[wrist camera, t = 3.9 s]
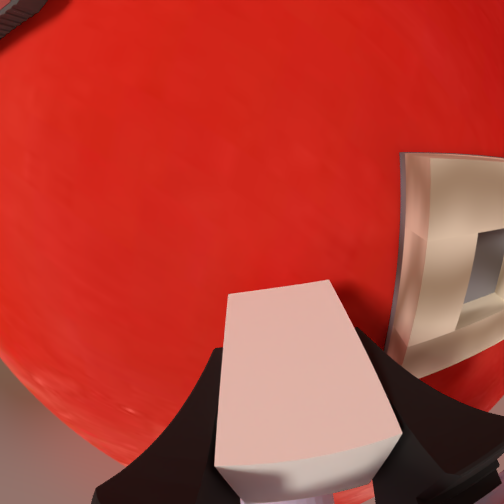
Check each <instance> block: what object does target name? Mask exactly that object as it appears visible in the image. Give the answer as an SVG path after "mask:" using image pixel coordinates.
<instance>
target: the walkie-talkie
mask: <svg viewBox="0 0 504 504" xmlns="http://www.w3.org/2000/svg"><path fill="white" fill-rule="evenodd" d="M47 1H48V0H0V39H1V38H2V37H4V36H5V35H6V34H7V33H10V31H11V30H12V29H15V28H16V26H18V25H21V23H22V22H23V21H26V20H27V19H28V18H29V17H32V16H33V15H34V14H35V13H38V12H39V11H40V10H41V8H42V7H43V6H44V5H45V3H46V2H47Z"/></svg>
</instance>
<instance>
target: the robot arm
mask: <svg viewBox="0 0 504 504" xmlns="http://www.w3.org/2000/svg"><path fill="white" fill-rule="evenodd" d="M355 330H356V332H357V334H358V336H359V338H360V341H361V343H362V345H363V347H364V349H365V351H366V353H367V355H368V357H369V359H370V361H371V363H372V365H373V367H374V370H375V372H376V374H377V376H378V378H379V380H380V382H381V385H382V387H383V389H384V391H385V393H386V396H387V398H388V400H389V402H390V405H391V407H392V409H393V412H394V414H395V416H396V419H397V421H398V423H399V426H400V428H401V431H402V435H401V437H400V438H399V440H398V442H397V443H396V445H395V446H394V448H393V450H392V451H391V453H390V454H389V456H388V457H387V459H386V460H385V462H384V463H383V465H382V466H381V468H380V469H379V470H378V472H377V473H376V475H375V476H374V477H373V479H372V481H373V487H374V494H375V500H376V501H375V502H376V504H504V470H503V471H502V472H501V473H499V474H498V473H497V470H496V469H497V468H498V467H499V463H498V460H497V459H498V458H499V457H500V456H501V455H502V454H503V453H504V416H500V415H496V414H492V413H488V412H485V411H482V410H479V409H476V408H473V407H471V406H468V405H466V404H463V403H461V402H459V401H457V400H455V399H452V398H450V397H448V396H446V395H444V394H442V393H441V392H439V391H437V390H435V389H434V388H432V387H430V386H429V385H427V384H425V383H424V382H422V381H421V380H419V379H418V378H417V377H415V376H414V375H412V374H411V373H410V372H408V371H407V370H406V369H404V368H403V367H402V366H401V365H399V364H398V363H397V362H396V361H395V360H393V359H392V358H391V357H390V356H389V355H387V354H386V353H385V352H384V351H383V350H382V349H381V348H380V347H378V346H377V345H376V344H375V343H374V342H373V341H372V340H371V339H370V338H369V337H368V336H367V335H366V334H364V333H363V332H362V331H361V330H360V329H359V328H358V327H355ZM222 356H223V347H221V348H215V349H214V350H213V352H212V354H211V357H210V359H209V361H208V363H207V365H206V367H205V369H204V371H203V373H202V375H201V377H200V378H199V380H198V382H197V384H196V385H195V387H194V389H193V391H192V392H191V394H190V396H189V397H188V399H187V400H186V402H185V403H184V405H183V406H182V408H181V409H180V411H179V412H178V413H177V415H176V416H175V418H174V419H173V420H172V421H171V423H170V424H169V425H168V426H167V428H166V429H165V430H164V431H163V432H162V434H161V435H160V436H159V437H158V438H157V439H156V440H155V441H154V442H153V443H152V444H151V445H150V446H149V447H148V448H147V449H146V450H145V451H144V452H143V453H142V454H141V455H140V456H139V457H138V458H136V459H135V460H134V461H133V462H132V463H131V464H129V465H128V466H127V467H126V468H125V469H123V470H122V471H121V472H120V473H118V474H116V475H115V476H113V477H112V478H110V479H109V480H108V481H106V482H104V483H103V484H101V485H100V486H98V487H97V488H96V489H95V492H94V495H93V498H92V502H91V504H245V503H244V502H243V501H242V499H241V498H240V497H239V496H238V495H237V494H236V492H235V491H234V490H233V489H232V488H231V486H230V485H229V484H228V483H227V481H226V480H225V479H224V478H223V476H222V475H221V474H220V473H219V471H218V470H217V469H216V467H215V466H214V462H215V447H216V432H217V418H218V405H219V392H220V380H221V368H222ZM255 504H334V498H333V493H331V494H327V495H321V496H316V497H310V498H304V499H297V500H290V501H281V502H270V503H255Z"/></svg>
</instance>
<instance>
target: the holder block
mask: <svg viewBox="0 0 504 504" xmlns="http://www.w3.org/2000/svg"><path fill="white" fill-rule="evenodd" d="M400 174H401V213H400V236H399V251H398V262H397V272H396V281H395V289H394V296H393V303H392V310H391V316H390V322H389V327H388V332H387V338H386V342H385V347H384V352H385V353H386V354H387V355H389V356H390V357H391V358H392V359H393V360H395V361H396V362H397V363H398V364H399V365H401V366H402V367H403V368H404V369H406V370H407V371H408V372H410V373H411V374H412V375H414V376H415V377H417V378H418V379H419V378H422V377H424V376H427V375H430V374H432V373H435V372H437V371H440V370H442V369H445V368H447V367H449V366H452V365H454V364H456V363H458V362H461V361H463V360H465V359H467V358H469V357H471V356H473V355H475V354H477V353H479V352H481V351H483V350H485V349H487V348H489V347H491V346H493V345H495V344H496V343H498V342H500V341H502V340H503V339H504V158H502V157H493V156H482V155H470V154H453V153H424V152H400Z"/></svg>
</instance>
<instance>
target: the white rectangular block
mask: <svg viewBox="0 0 504 504" xmlns="http://www.w3.org/2000/svg"><path fill="white" fill-rule="evenodd" d="M401 435H402V431H401V428H400V426H399V423H398V421H397V419H396V416H395V414H394V412H393V409H392V407H391V405H390V402H389V400H388V398H387V396H386V393H385V391H384V389H383V387H382V385H381V382H380V380H379V378H378V376H377V374H376V372H375V370H374V367H373V365H372V363H371V361H370V359H369V357H368V355H367V353H366V351H365V349H364V347H363V345H362V343H361V341H360V338H359V336H358V334H357V332H356V330H355V328H354V327H353V325H352V323H351V321H350V319H349V317H348V315H347V313H346V311H345V309H344V307H343V305H342V303H341V301H340V299H339V298H338V296H337V294H336V292H335V290H334V288H333V286H332V284H331V283H330V281H329V280H324V281H318V282H312V283H305V284H299V285H292V286H285V287H278V288H271V289H264V290H257V291H249V292H241V293H234V294H228V302H227V313H226V323H225V334H224V345H223V356H222V368H221V380H220V392H219V405H218V418H217V432H216V447H215V462H214V466H215V467H216V469H217V470H218V471H219V473H220V474H221V475H222V476H223V478H224V479H225V480H226V481H227V483H228V484H229V485H230V486H231V488H232V489H233V490H234V491H235V492H236V494H237V495H238V496H239V497H240V498H241V499H242V501H243V502H244V503H245V504H255V503H270V502H281V501H290V500H297V499H304V498H310V497H316V496H321V495H327V494H331V493H336V492H340V491H344V490H348V489H352V488H356V487H360V486H363V485H367V484H369V483H370V481H371V480H372V479H373V477H374V476H375V475H376V473H377V472H378V470H379V469H380V468H381V466H382V465H383V463H384V462H385V460H386V459H387V457H388V456H389V454H390V453H391V451H392V450H393V448H394V446H395V445H396V443H397V442H398V440H399V438H400V437H401Z"/></svg>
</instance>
